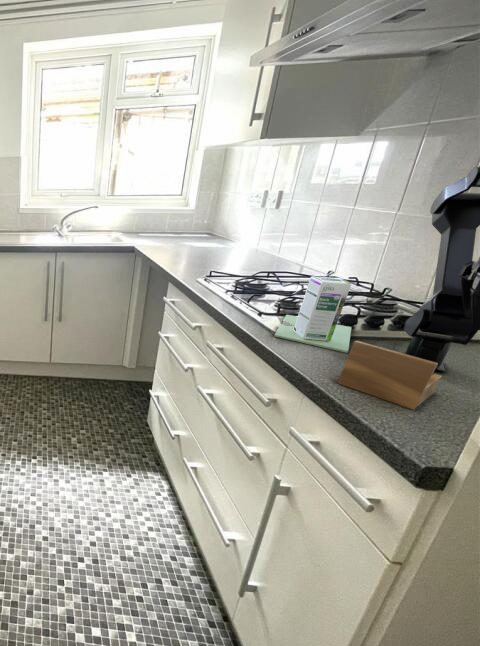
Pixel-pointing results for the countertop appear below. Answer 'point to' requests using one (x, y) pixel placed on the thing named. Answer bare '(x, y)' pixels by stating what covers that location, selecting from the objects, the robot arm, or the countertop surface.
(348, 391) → the countertop surface
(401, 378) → the stand
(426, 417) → the countertop surface
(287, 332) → the mat
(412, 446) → the countertop surface
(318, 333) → the syrup box
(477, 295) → the robot arm
